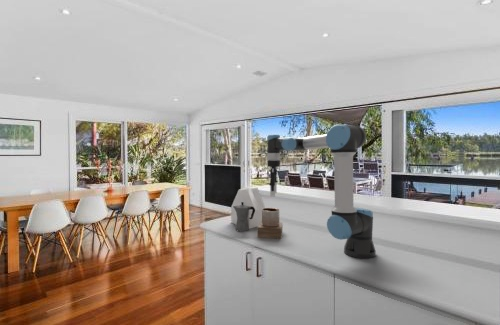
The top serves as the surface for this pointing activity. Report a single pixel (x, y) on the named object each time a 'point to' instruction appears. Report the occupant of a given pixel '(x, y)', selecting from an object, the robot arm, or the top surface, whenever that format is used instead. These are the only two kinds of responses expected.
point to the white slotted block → (249, 199)
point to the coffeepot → (243, 216)
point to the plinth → (270, 231)
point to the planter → (270, 217)
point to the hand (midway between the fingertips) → (273, 194)
